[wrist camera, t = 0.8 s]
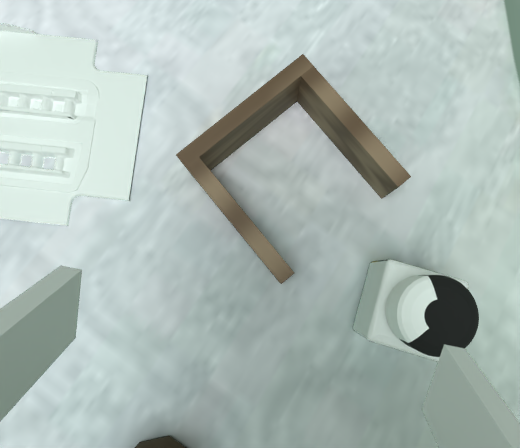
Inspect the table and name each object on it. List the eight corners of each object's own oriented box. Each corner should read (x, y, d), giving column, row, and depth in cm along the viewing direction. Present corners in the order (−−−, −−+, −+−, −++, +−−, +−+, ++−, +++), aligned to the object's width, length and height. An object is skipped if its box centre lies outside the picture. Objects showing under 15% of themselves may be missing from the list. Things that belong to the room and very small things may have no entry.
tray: (128, 233, 46) (114, 229, 43) (-121, 207, 48) (-155, 202, 45) (154, 48, 49) (143, 29, 45) (-85, 31, 51) (-114, 12, 47)
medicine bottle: (439, 281, 44) (501, 283, 32) (421, 351, 44) (478, 379, 32) (369, 260, 45) (405, 255, 33) (351, 329, 44) (381, 350, 32)
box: (392, 189, 45) (411, 176, 40) (279, 282, 45) (281, 283, 39) (298, 82, 47) (302, 54, 41) (188, 170, 46) (175, 154, 40)
